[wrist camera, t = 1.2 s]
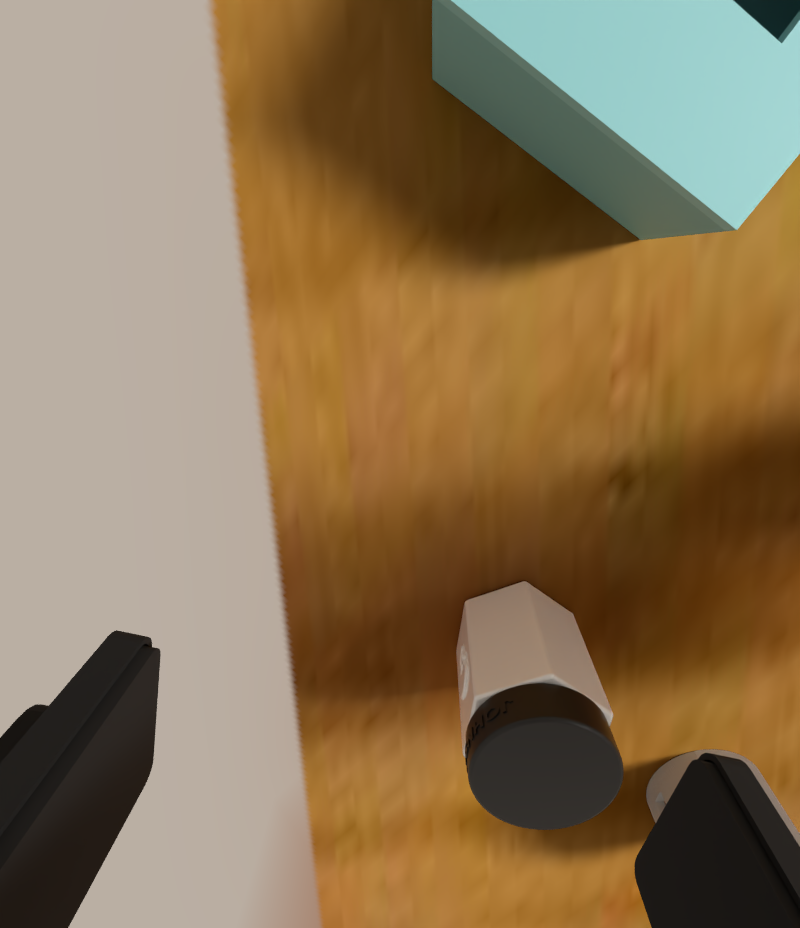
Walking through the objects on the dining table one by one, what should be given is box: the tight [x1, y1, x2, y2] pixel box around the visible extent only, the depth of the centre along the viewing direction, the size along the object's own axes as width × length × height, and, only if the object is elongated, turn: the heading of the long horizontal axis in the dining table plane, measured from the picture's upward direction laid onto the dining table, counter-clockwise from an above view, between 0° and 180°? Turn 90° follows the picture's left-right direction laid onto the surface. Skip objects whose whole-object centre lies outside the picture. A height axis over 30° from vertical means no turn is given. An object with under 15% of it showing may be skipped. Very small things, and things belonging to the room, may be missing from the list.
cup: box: [646, 749, 800, 846], centre depth 38 cm, size 9×9×12 cm
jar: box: [456, 581, 623, 830], centre depth 34 cm, size 9×8×12 cm
